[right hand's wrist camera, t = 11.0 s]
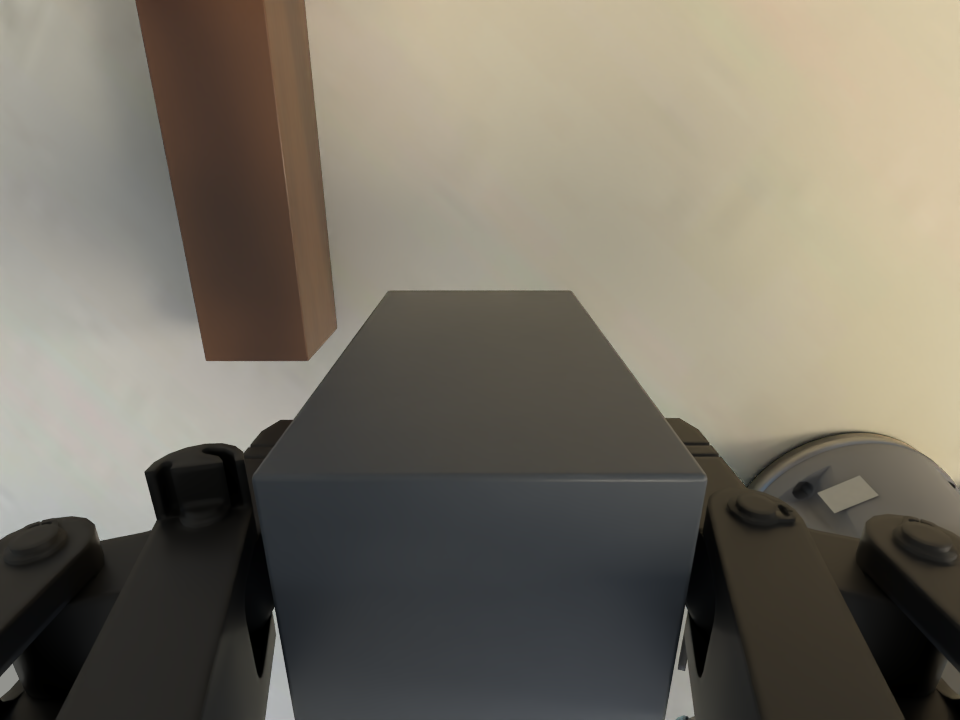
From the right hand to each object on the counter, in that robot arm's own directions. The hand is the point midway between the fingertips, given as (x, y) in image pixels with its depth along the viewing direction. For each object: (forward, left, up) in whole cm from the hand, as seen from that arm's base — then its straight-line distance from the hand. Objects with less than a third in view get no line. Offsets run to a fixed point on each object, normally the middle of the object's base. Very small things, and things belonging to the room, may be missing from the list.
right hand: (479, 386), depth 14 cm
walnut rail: (+12, -9, -19) cm, 24 cm away
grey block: (0, 0, -1) cm, 1 cm away
